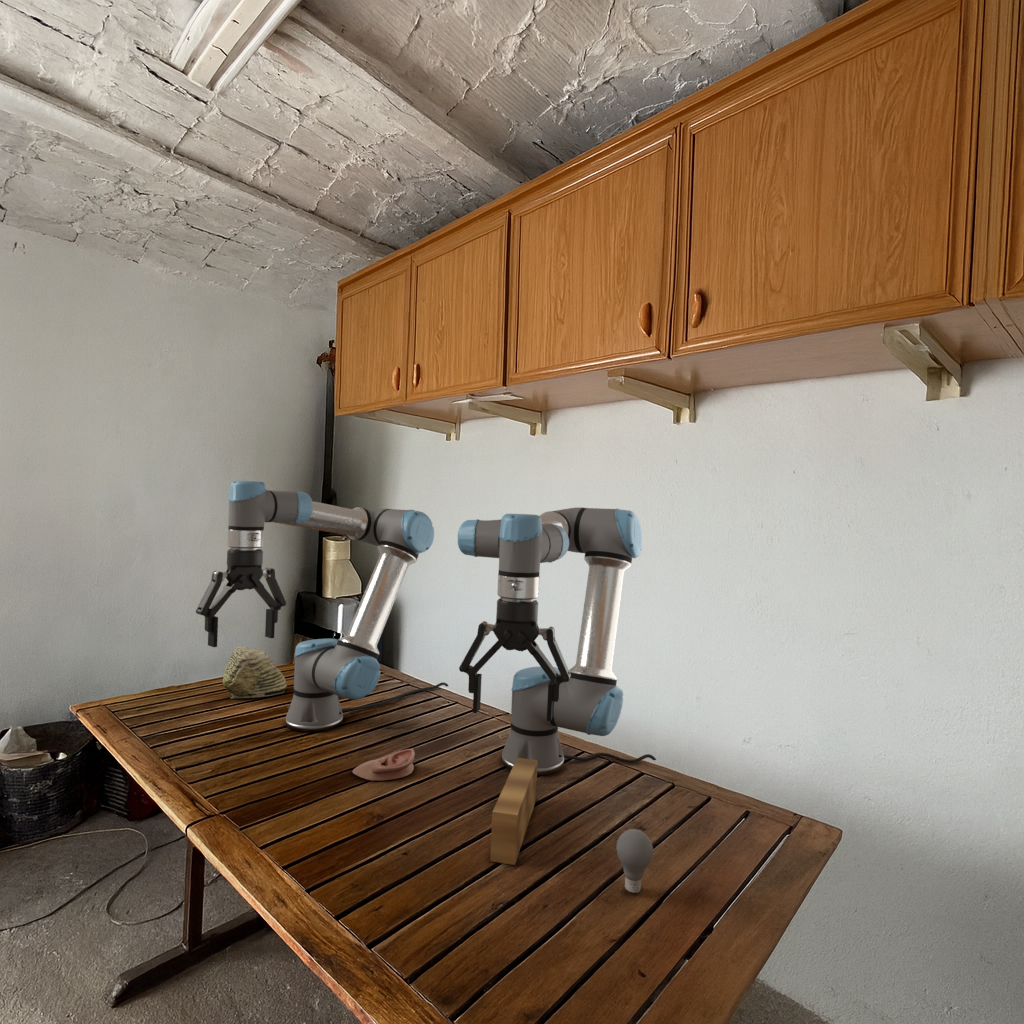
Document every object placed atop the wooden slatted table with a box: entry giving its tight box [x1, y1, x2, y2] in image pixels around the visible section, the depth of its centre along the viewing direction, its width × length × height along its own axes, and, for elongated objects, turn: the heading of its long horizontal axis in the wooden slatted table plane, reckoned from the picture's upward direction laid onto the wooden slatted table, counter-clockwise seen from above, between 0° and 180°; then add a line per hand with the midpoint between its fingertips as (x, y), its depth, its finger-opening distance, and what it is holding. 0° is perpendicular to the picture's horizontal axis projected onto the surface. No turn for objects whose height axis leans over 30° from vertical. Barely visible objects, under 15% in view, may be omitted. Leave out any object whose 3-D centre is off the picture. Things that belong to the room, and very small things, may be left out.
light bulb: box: [615, 828, 654, 894], centre depth 106 cm, size 6×6×10 cm
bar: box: [489, 758, 538, 866], centre depth 124 cm, size 25×4×9 cm, turn 169°
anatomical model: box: [352, 748, 416, 782], centre depth 147 cm, size 13×4×12 cm
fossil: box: [222, 646, 288, 699], centre depth 198 cm, size 9×18×15 cm, turn 132°
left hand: (242, 641), depth 144 cm, fingers open, 13 cm apart
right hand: (512, 714), depth 115 cm, fingers open, 13 cm apart
